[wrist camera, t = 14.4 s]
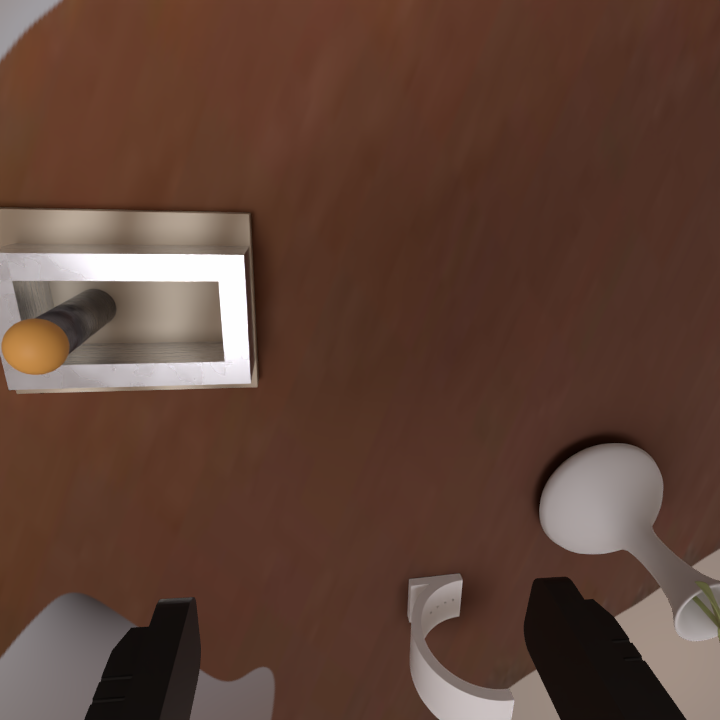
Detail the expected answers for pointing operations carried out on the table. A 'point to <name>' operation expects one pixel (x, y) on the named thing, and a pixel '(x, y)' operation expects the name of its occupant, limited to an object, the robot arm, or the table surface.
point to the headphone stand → (432, 681)
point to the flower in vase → (626, 527)
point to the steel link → (132, 360)
